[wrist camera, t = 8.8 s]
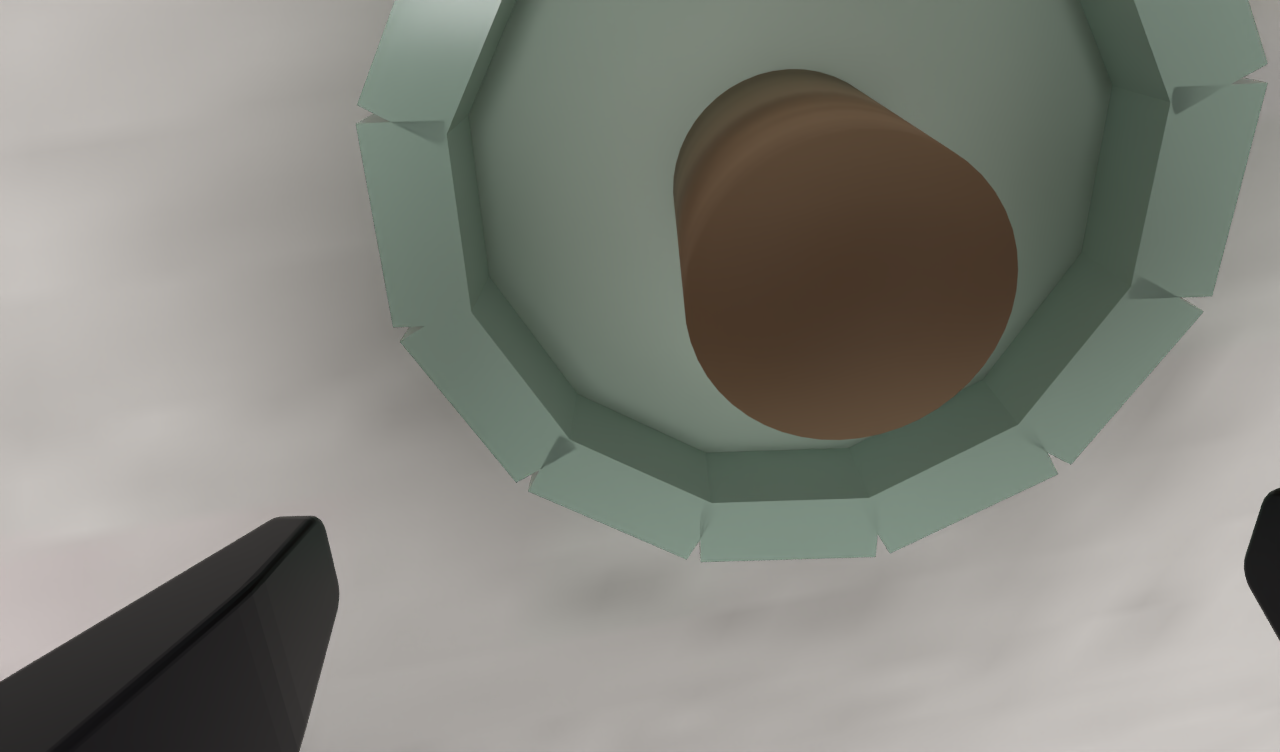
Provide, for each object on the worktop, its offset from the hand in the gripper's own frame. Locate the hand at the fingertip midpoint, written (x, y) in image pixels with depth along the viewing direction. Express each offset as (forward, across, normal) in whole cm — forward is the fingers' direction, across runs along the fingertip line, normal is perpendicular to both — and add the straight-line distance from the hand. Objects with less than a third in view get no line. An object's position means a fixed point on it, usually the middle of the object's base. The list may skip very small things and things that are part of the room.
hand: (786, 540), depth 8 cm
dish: (+11, -1, -1) cm, 11 cm away
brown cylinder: (+10, -1, -1) cm, 10 cm away
